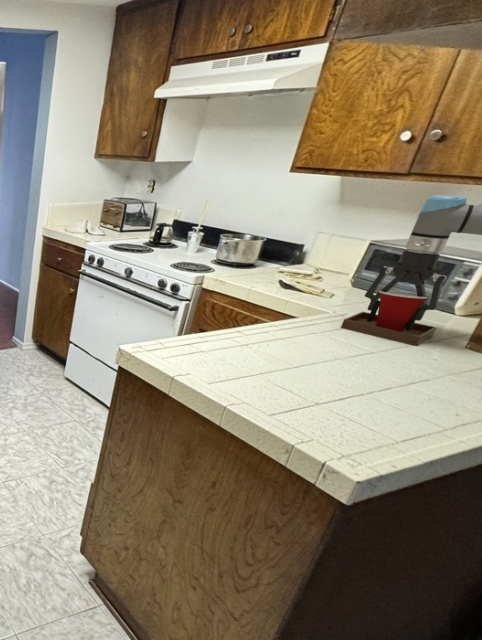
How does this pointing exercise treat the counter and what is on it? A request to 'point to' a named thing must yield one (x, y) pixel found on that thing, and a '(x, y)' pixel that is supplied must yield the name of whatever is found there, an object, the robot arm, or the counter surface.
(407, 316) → the plastic cup
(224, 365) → the counter surface
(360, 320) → the tray
